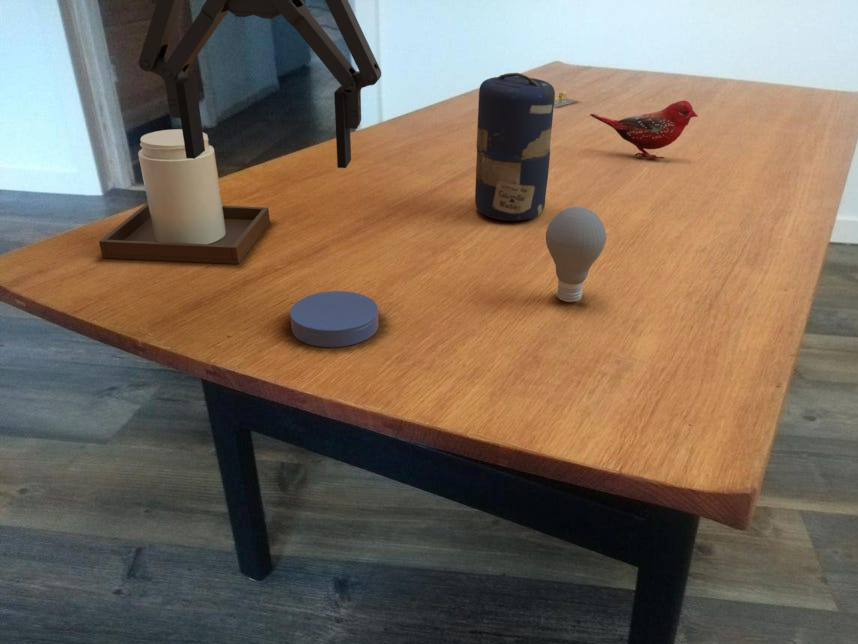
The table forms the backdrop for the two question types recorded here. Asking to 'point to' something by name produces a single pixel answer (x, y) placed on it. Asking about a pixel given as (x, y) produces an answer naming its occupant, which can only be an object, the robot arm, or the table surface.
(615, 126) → the decorative bird figurine
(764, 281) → the table surface
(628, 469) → the table surface
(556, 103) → the dice set
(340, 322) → the jar lid
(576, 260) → the light bulb
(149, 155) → the jar
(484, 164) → the canister
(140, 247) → the tray
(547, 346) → the table surface
